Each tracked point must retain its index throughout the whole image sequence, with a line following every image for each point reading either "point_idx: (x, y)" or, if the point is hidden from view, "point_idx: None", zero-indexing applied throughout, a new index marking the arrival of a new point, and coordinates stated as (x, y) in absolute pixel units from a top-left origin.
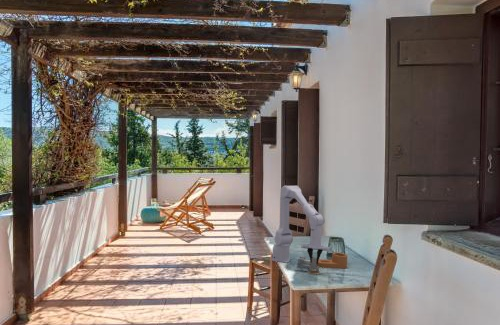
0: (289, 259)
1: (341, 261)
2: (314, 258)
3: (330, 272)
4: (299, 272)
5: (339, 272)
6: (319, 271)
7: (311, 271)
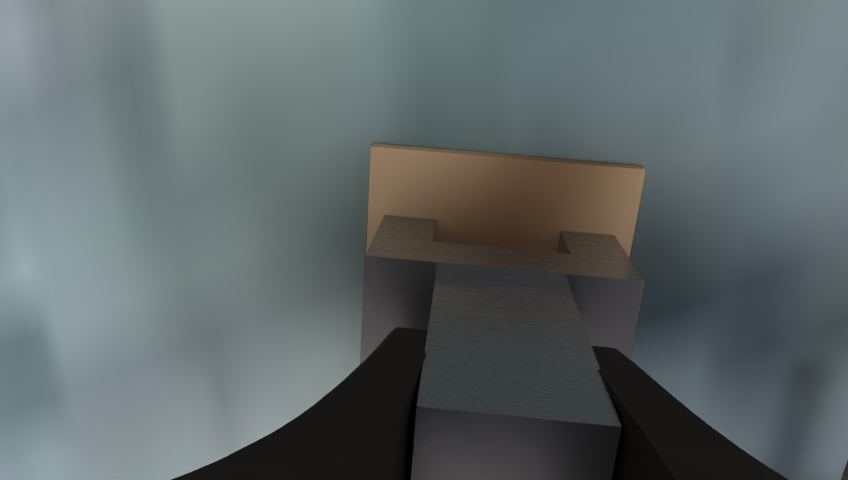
0: None
1: None
2: (508, 431)
3: (162, 397)
4: (828, 155)
5: (10, 452)
6: None
7: None
